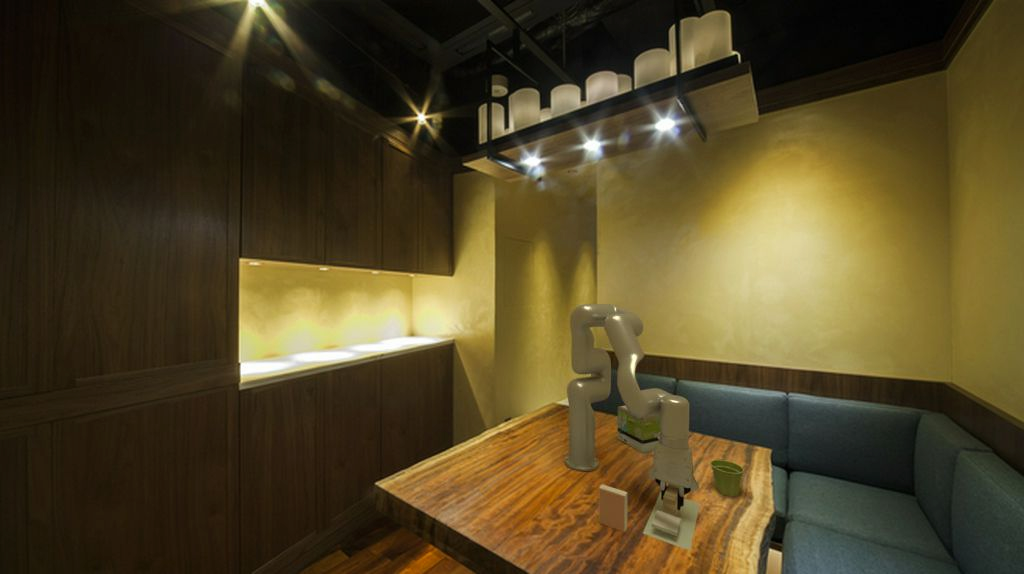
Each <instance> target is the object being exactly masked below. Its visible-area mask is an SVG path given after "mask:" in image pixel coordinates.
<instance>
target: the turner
mask: <svg viewBox="0 0 1024 574" xmlns="http://www.w3.org/2000/svg"><path fill="white" fill-rule="evenodd" d="M666 486H667V489H666V491H665V494H664V496H663V512H661V511H658V510H657V512H656V514H655V517H654V519H653V522H652V527H654V528H656V529H659V530H662V531H664V532H667V533H670V534H672V535H675V536H677V534H678V531H679V527H680V523H681V518H678V517H676V514H677V511H678V509H677V499H678V493H679V486H677V485H674V484H670V483H668V484H667V485H666Z"/></svg>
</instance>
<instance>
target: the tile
mask: <svg viewBox="0 0 1024 574" xmlns="http://www.w3.org/2000/svg"><path fill="white" fill-rule="evenodd" d="M598 490H599V491H598V493H599V494H598V523H599V524H600V525H601V524H602V525H604V526H607V527H610V528H612V529H615V530H618V531H620V532H623V533H625V532H626V531H627V529H628V492H627V491H624V490H622V489H618V488H614V487H612V486H608V485H605V484H600V486H599V487H598Z"/></svg>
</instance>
